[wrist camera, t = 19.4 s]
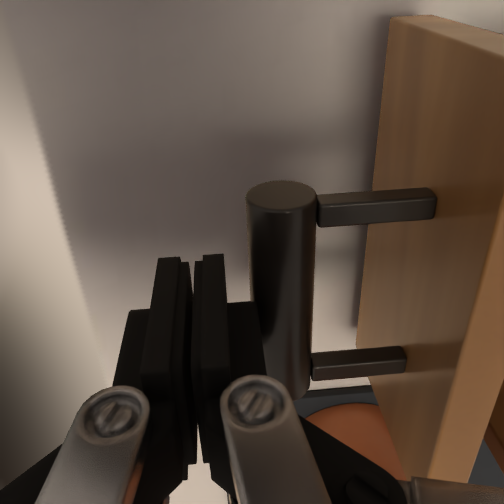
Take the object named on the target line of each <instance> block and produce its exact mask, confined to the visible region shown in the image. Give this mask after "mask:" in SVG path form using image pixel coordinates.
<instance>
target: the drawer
mask: <svg viewBox="0 0 504 504" xmlns="http://www.w3.org/2000/svg"><path fill="white" fill-rule="evenodd" d="M245 203H246V222H247V241H248V261H249V280H250V299H251V301H256V302H257V308H258V315H259V322H260V329H261V336H262V343H263V350H264V358H265V365H266V372H267V376H269V377H272V378H274V379H276V380H278V381H279V382H280V383H282V384H283V385H284V386H285V387H286V389H287V390H288V392H289V394H290V396H291V398H292V401H296V400H298V399H300V398H301V397H302V396H303V395H305V393H306V392H307V391H308V389H309V386H310V375H311V379H312V381H322V380H334V379H345V378H356V377H368V378H369V381H370V384H371V386H372V389H373V392H374V394H375V397H376V400H377V402H378V405H379V407H380V410H381V413H382V415H383V418H384V421H385V423H386V426H387V429H388V431H389V434H390V437H391V439H392V442H393V445H394V447H395V450H396V452H397V455H398V458H399V460H400V463H401V466H402V468H403V471H404V474H405V476H406V479H407V481H410V480H411V476H414V477H422V478H430V479H438V480H445V481H453V482H461V483H468V480H469V477H470V474H471V471H472V468H473V466H474V463H475V460H476V457H477V454H478V451H479V448H480V446H481V443H482V440H483V439H484V441H485V442H486V444H487V446H488V448H489V449H490V451H491V453H492V455H493V456H494V458H495V460H496V462H497V464H498V465H499V467H500V469H501V471H502V472H503V474H504V35H503V34H499V33H496V32H492V31H488V30H485V29H481V28H478V27H474V26H470V25H467V24H463V23H459V22H456V21H452V20H449V19H445V18H441V17H438V16H434V15H417V16H399V17H392V18H391V19H390V25H389V34H388V44H387V53H386V63H385V72H384V81H383V91H382V100H381V110H380V119H379V129H378V138H377V148H376V157H375V167H374V176H373V186H372V191H364V192H350V193H336V194H321V195H317V194H316V192H315V190H314V189H313V188H311V187H310V186H308V185H306V184H303V183H300V182H295V181H286V180H279V181H269V182H264V183H261V184H258V185H256V186H254V187H252V188H251V189H250V190H249V191H248V192H247V194H246V197H245ZM316 222H317V225H318V227H321V228H322V227H336V226H349V225H363V224H368V233H367V242H366V252H365V261H364V271H363V280H362V290H361V299H360V309H359V318H358V328H357V337H356V347H357V349H352V350H340V351H328V352H317V353H311V347H312V321H313V295H314V268H315V242H316Z"/></svg>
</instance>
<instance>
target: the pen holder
mask: <svg viewBox="0 0 504 504" xmlns="http://www.w3.org/2000/svg"><path fill="white" fill-rule="evenodd" d="M305 419H306V420H308V421H309V422H311V423H312V424H314V425H316V426H317V427H319V428H320V429H322V430H323V431H325V432H327V433H328V434H330V435H331V436H333V437H335V438H336V439H338V440H339V441H341V442H342V443H344V444H346V445H347V446H349V447H350V448H352V449H353V450H355V451H357V452H358V453H360V454H361V455H363V456H364V457H366V458H368V459H369V460H371V461H372V462H374V463H375V464H377V465H379V466H380V467H382V468H383V469H385V470H386V471H387V472H389V473H390V474H391V475H392V476H393V477H395V479H396V480H404V481H407V479H406V476H405V474H404V471H403V468H402V466H401V463H400V460H399V458H398V455H397V452H396V450H395V447H394V445H393V442H392V439H391V437H390V434H389V431H388V429H387V426H386V423H385V421H384V418H383V415H382V413H381V410H380V407H379V406H377V405H373V404H367V403H347V404H340V405H336V406H331V407H328V408H325V409H322V410H320V411H318V412H315V413H314V414H312V415H310V416H308V417H307V418H305Z"/></svg>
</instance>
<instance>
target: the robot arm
mask: <svg viewBox="0 0 504 504" xmlns="http://www.w3.org/2000/svg"><path fill="white" fill-rule="evenodd" d="M198 428H199V435H200V442H201V449H202V456H203V463H209V464H210V471H211V479H212V480H213V481H214V482H215V483H217V484H218V485H219V486H220V487H221V488H223V489H224V490H225V491H226V492H227V493H228V494H229V501H230V504H504V488H500V487H492V486H484V485H476V484H469V483H461V482H453V481H445V480H438V479H430V478H422V477H414V476H411V480H410V481H404V480H396V479H395V477H393V476H392V475H391V474H390V473H389V472H387V471H386V470H385V469H383V468H382V467H380V466H379V465H377V464H375V463H374V462H372V461H371V460H369V459H368V458H366V457H364V456H363V455H361V454H360V453H358V452H357V451H355V450H353V449H352V448H350V447H349V446H347V445H346V444H344V443H342V442H341V441H339V440H338V439H336V438H335V437H333V436H331V435H330V434H328V433H327V432H325V431H323V430H322V429H320V428H319V427H317V426H316V425H314V424H312V423H311V422H309V421H308V420H306V419H305V418H303V417H301V416H300V415H298V414H297V411H296V409H295V406H294V404H293V401H292V398H291V396H290V394H289V392H288V390H287V389H286V387H285V386H284V385H283V384H282V383H280V382H279V381H278V380H276V379H274V378H272V377H269V376H267V372H266V365H265V358H264V350H263V343H262V336H261V329H260V322H259V315H258V308H257V302H256V301H248V302H234V303H227V292H226V279H225V266H224V254H210V255H203V261H195V268H194V292H193V291H192V282H191V274H190V266H189V262H181V258H180V257H167V258H158V263H157V269H156V275H155V281H154V287H153V293H152V299H151V305H150V309H140V310H130V312H129V314H128V318H127V322H126V327H125V331H124V336H123V340H122V345H121V349H120V354H119V358H118V363H117V367H116V372H115V376H114V381H113V385H112V387H109V388H106V389H103V390H101V391H99V392H97V393H95V394H94V395H92V396H91V397H90V398H89V399H88V400H86V401H85V402H84V403H83V405H82V406H81V408H80V409H79V411H78V412H77V414H76V417H75V419H74V421H73V423H72V425H71V427H70V430H69V432H68V434H67V436H66V438H65V440H64V442H63V444H61V445H60V446H59V447H57V448H56V449H55V450H53V451H52V452H51V453H50V454H48V455H47V456H45V457H44V458H43V459H41V460H40V461H39V462H37V463H36V464H35V465H33V466H32V467H31V468H29V469H28V470H27V471H25V472H24V473H23V474H21V475H20V476H19V477H17V478H16V479H15V480H14V481H12V482H11V483H9V484H8V485H7V486H5V487H4V488H3V489H2V490H0V504H169V499H170V497H169V494H170V493H171V492H172V491H173V490H174V489H176V488H177V487H178V486H179V485H180V484H181V483H182V480H187V479H188V465H191V464H196V463H197V429H198Z"/></svg>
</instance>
